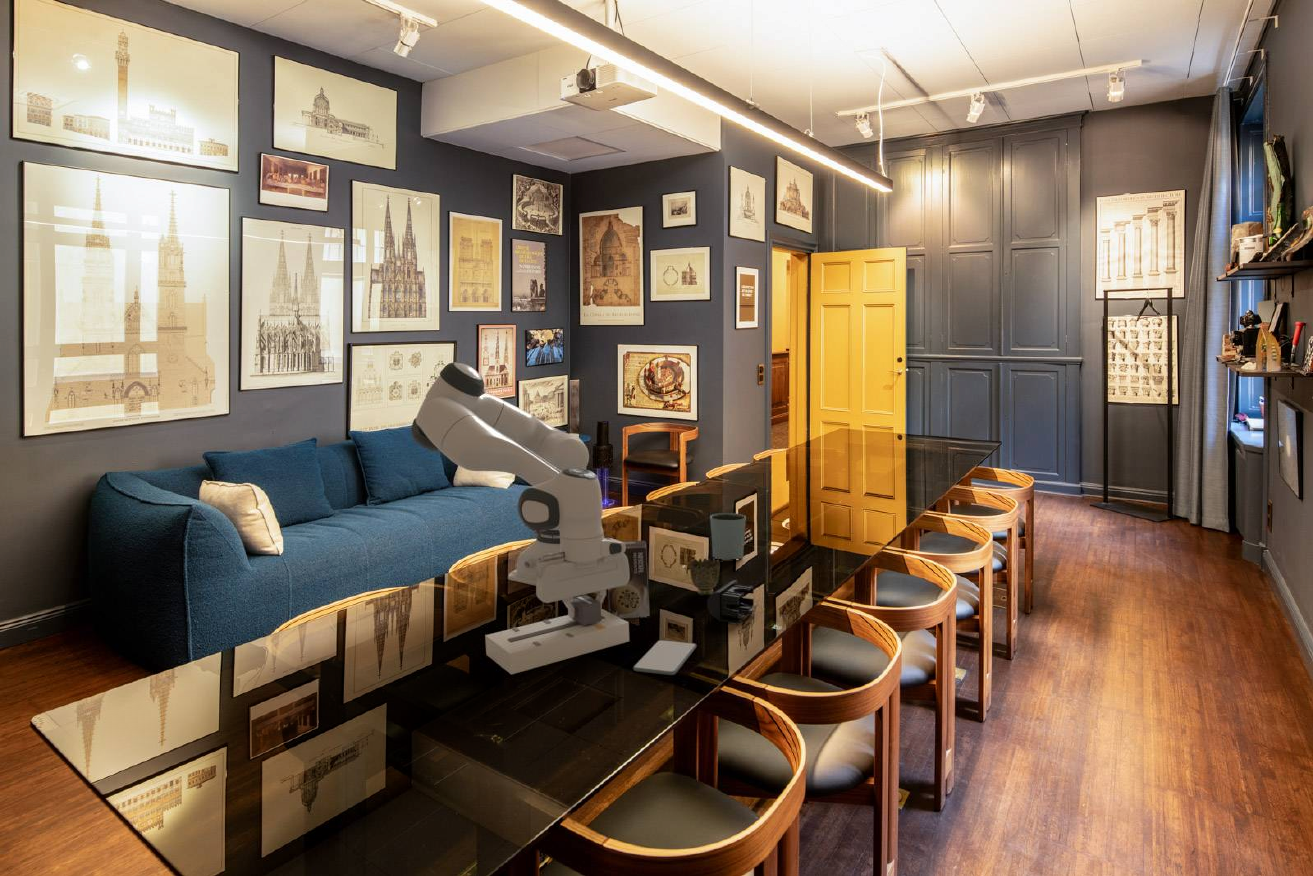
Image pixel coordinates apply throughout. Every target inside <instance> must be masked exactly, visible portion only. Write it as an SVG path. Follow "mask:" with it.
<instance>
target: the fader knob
mask: <svg viewBox="0 0 1313 876" xmlns="http://www.w3.org/2000/svg"><path fill="white" fill-rule="evenodd" d="M595 599H596V598H593V597H591V596H589V595H588V594H584V595H580V596H576V597H573V602H571V604H572V606H573V607H576V608H578V614H579V616H578V617H575V618H572V619H573V620H575V621H577V622H579V623H580V624H582V625H588V624H592V623H596V622H600V621H601V602H599V601H597V600H595Z"/></svg>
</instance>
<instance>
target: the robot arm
mask: <svg viewBox="0 0 1313 876" xmlns="http://www.w3.org/2000/svg"><path fill="white" fill-rule="evenodd" d="M410 428H411V429H410V432H411V436H412V439H413V440H414V442H416V444H418V445H419V446H421V447H423V448H425V449H426V450H429V451H431V452H436V453H442V455H444V456H445V457H446V458H448V459H449V460H450V461H451V462H452V463H453V464H455V465H457V466H458V467H461V468H462V469H465V470H467V471H471V472H500V473H501V472H502V473H507V474H511V475H515V476H517V477H519V478H521V479H522V480H523V481H525V482H527V484H529V485H531V486H530V487H528V488H526V489H524V490H523V491H522V492H521V494H520V496H519V498H518V502H517V510H518V515H519V518H520V520H521V522H522V523H523V524H524V526H525V527H527V529H529V530H532V531H533V533H532V535H536V534H537V535H536V539H535V540H534V541H533V542H532V543H530V545H529V546H527V547H526V548H525V549H524V550H523V551H521V552H520V553H519V555H518V557H517V560H516V569H514V570H512V571H510V573H509V574H508V577H507V580H508V581H513V582H518V583H523V584H527V585H532V586H535V588H536V589H535V591H536V592H535V593H536V597H537V598H538V600H540V601H541V602H543V603H545V604H549V603H553V602H558V601H562V603H564V605H565V608H567V613H568V614H567V615H569V617H570V618H575V617H578V616H579V614H578V608H576V607H573V606H572V604H571V602H573V598H575V597H579V596H584V595H588V594H592V593H595V594H596V597H595V598H594V599H595V600H597V601H599V602H601V611H602V606H603V605H602V604H603V602H604V600H605V598H606V596H607V590H608V589H610V588H615V587H619V586H623V585H626V584H627V583H628V581H629V579H630V573H629V563H628V558H627V556H626V555H625V554H624V552H625V550H626V545H625V543H623V542H624V541H621V540H618V539H614V538H611V537H608V536H607V537H606V536H604V529H603V525H602V516H603V497H602V496H603V495H602V489H601V484H600V480H599V478H598V475H597V474H596V473H594V472H593V471H591V470H589V469H587V466H588V464H589V460H590V453H589V449H588V447H587V445H586V444H585V443H584V441H583V440H582V439H581V438H580V437H578V436H577V435H575V434H571V433H567V432H565V431H563V430H560V429H558V428H556V427H555V426H552V425H551V424H548V423H547V422H545V421H543V420H541V418H538V417H536V416H535V415H533V414H531V413H529V412H528V411H526V410H524V409H521V408H520V407H518V406H516V405H514V404H512V403H510V402H508V401H506V400H504V399H502V398H500V397H499V396H496V395H494V394H491V393H489V392H486V390H485V382H484V378H483V376H482V375H481V374H480V373H479V372H478V371H477V370H476V369H475V368H474V367H472V366H470V365H468V364H465V363H461V362H458V361H454V362H450V363H448V364H446V365H445V366H444V367H443V368H442V370H440V371H439V376H438V377H437V378H436V380H435V381H434V382H433V384H432V385H431V386H430V388H429V390H428V391H427V393H426V394H425V398H424V399H423V401H422V403H421V406H420V408H419V410H418V412H417V415H416V417H415V418H414V419H413V421H412V423H411V427H410Z"/></svg>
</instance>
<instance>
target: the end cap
mask: <svg viewBox="0 0 1313 876" xmlns="http://www.w3.org/2000/svg"><path fill="white" fill-rule="evenodd" d="M754 590H755V589H754V586H753V585H748V584H747V585H746V584H740V583H739V581H738V579H737V580H736V579H735V580H731V581H729V582H727V583H726V584H725V585H723V586H722V587H720V588H719V589H718V590H716V591H714V592H713V593H712V594H711V595H709V597H708V599H707V609H708V612H709V613H710V614H711V615H712V616H713V617H714V618H715V619H716V620H717V621H719V622H721V621H722V622H721V623H726V622H728V623H727V624H732V623H739V624H741V623H742V622H743V621H744V620H745V619H746V618H745V617H746V616H747V615H748V614H750V613H751V612H752V611H753V612H754V609H753V608H754V605H755V603H754V602H755V599H754V598H751V597H744V593H745V594H753V595H754V592H755V591H754ZM751 614H752V613H751ZM751 614H750V615H751ZM744 618H745V619H744ZM743 619H744V620H743ZM742 620H743V621H742ZM741 621H742V622H741ZM740 622H741V623H740Z"/></svg>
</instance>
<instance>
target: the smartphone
mask: <svg viewBox="0 0 1313 876" xmlns="http://www.w3.org/2000/svg"><path fill="white" fill-rule="evenodd" d="M696 648H697V644H696V643H694V642H693V643H692V642H683V641H682V642H681V641H671V640H657V642H655V643H654V644H653V646H652V647H651V648H649V650H648V651H647V652H646V653H645V654H644V655H643V656H642V657H641V658H640V659H639V660H638V661H637V663H635V664H634V666H633V668H632V670H633V671H634V672H641V673H649V674H658V675H668V676H674V675H676V674H677V673H678V671H679V670H680V669H681V668H682V667H683V665H684V664H685V663H686V661H687V660H688V658H689V657H690V656H691V655H692V653H693V652H694V651H695V649H696Z"/></svg>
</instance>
